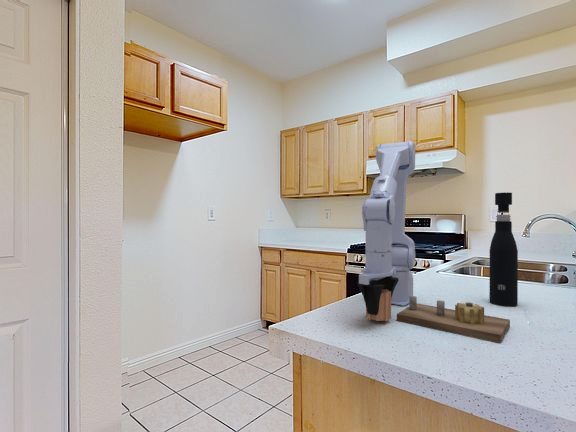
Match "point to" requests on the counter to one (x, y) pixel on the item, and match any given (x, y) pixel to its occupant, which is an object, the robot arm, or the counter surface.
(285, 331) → the counter surface
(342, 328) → the counter surface
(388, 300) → the gear
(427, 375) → the counter surface
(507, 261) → the black bottle
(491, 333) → the gear board
